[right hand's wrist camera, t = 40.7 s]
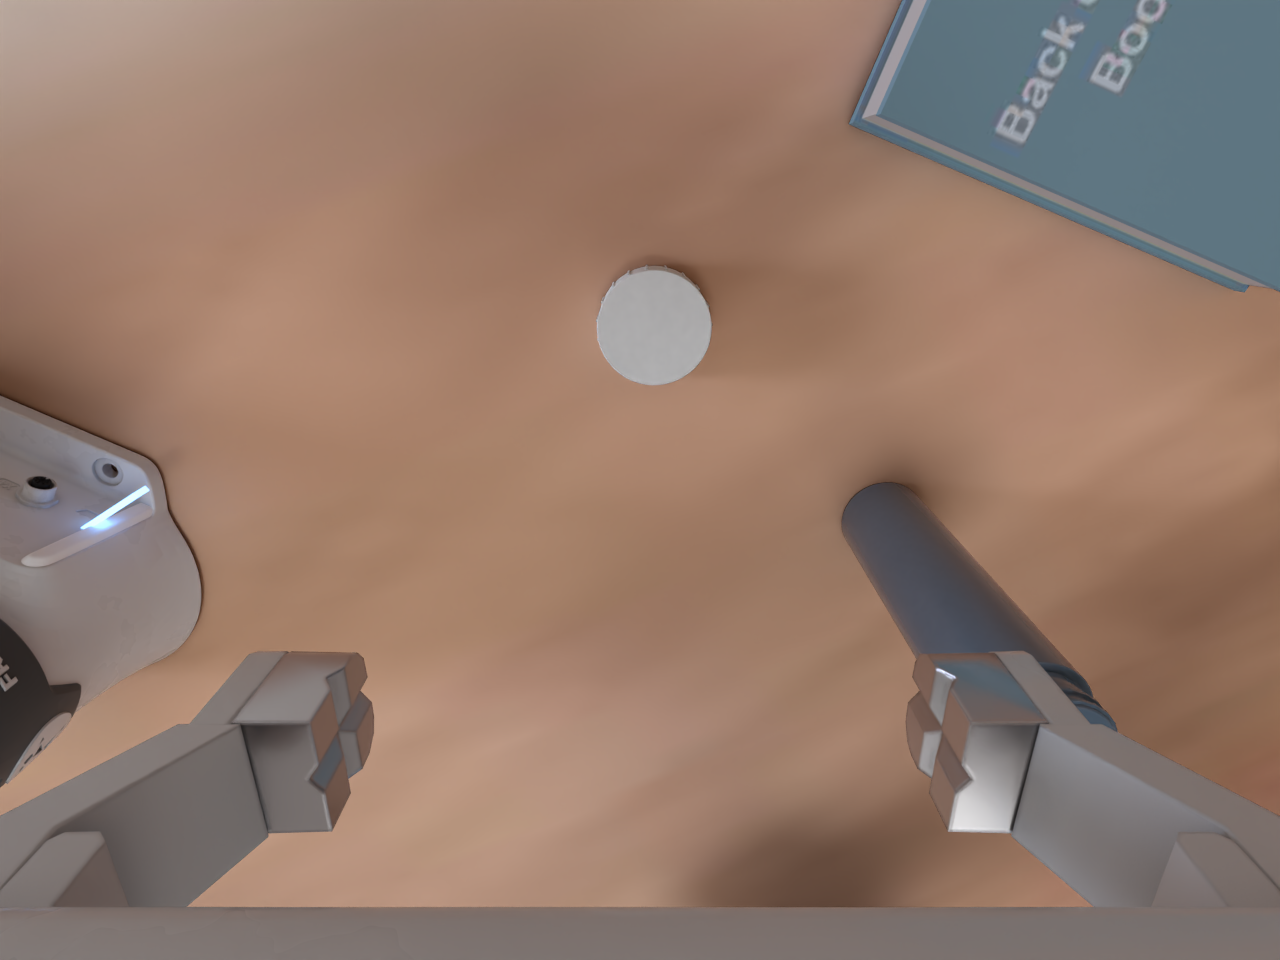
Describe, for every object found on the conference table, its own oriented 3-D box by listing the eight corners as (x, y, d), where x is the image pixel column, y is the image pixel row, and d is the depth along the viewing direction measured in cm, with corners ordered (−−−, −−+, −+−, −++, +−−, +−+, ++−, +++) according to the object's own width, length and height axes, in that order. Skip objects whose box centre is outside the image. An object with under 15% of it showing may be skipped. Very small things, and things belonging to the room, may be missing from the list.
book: (848, 124, 35) (880, 114, 31) (1025, -284, 30) (1096, -372, 25) (1234, 290, 38) (1316, 304, 34) (1460, -53, 33) (1596, -93, 28)
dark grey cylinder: (924, 549, 44) (1123, 799, 26) (844, 561, 44) (986, 817, 26) (922, 475, 42) (1133, 689, 24) (838, 489, 43) (985, 710, 25)
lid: (686, 246, 38) (689, 249, 35) (724, 352, 40) (729, 361, 38) (580, 289, 38) (577, 295, 36) (623, 392, 40) (622, 403, 38)
